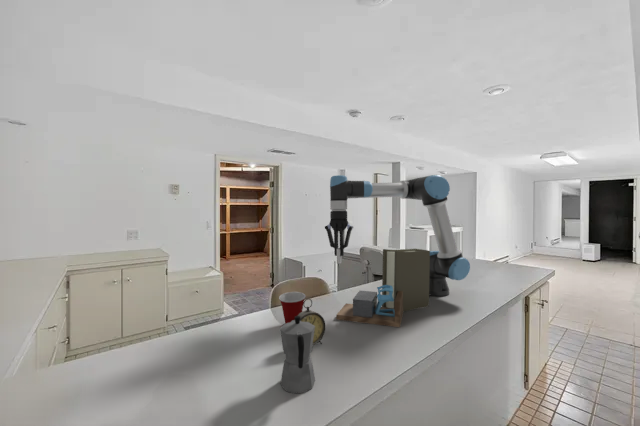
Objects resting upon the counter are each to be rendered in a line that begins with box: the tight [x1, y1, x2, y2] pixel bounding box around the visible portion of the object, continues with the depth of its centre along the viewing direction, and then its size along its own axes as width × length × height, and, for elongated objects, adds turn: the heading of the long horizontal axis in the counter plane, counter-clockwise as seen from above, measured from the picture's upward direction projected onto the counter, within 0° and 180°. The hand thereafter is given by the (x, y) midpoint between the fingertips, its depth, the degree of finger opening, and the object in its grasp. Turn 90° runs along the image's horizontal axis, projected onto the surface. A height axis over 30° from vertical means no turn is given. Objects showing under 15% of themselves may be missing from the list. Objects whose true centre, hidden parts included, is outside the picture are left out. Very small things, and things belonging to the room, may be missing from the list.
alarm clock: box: [297, 298, 327, 347], centre depth 101 cm, size 11×5×16 cm, turn 117°
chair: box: [375, 285, 395, 317], centre depth 126 cm, size 8×8×12 cm
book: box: [381, 248, 431, 313], centre depth 141 cm, size 22×9×28 cm, turn 118°
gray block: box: [352, 290, 378, 318], centre depth 129 cm, size 8×14×7 cm, turn 161°
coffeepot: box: [279, 316, 316, 394], centre depth 78 cm, size 15×9×18 cm, turn 10°
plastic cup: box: [278, 291, 307, 324], centre depth 119 cm, size 11×11×12 cm
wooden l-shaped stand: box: [335, 291, 404, 328], centre depth 128 cm, size 26×16×10 cm, turn 70°
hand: (339, 263), depth 133 cm, fingers closed
